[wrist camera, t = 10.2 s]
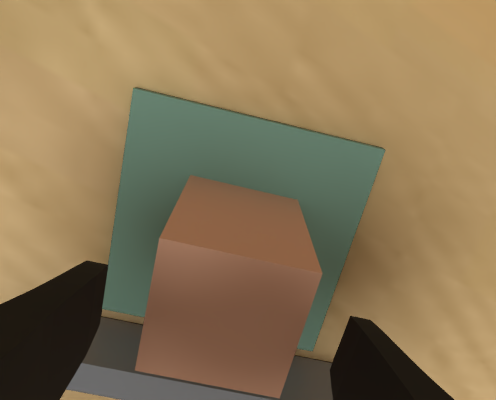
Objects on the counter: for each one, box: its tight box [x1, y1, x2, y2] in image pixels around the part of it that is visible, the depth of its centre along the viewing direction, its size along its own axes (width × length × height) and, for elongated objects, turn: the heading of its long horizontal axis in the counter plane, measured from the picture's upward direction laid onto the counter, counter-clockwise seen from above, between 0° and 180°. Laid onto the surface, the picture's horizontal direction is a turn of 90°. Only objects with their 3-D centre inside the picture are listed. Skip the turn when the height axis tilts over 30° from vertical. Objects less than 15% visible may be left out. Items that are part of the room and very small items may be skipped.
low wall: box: [66, 317, 333, 400], centre depth 18 cm, size 2×18×3 cm, turn 76°
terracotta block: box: [135, 175, 322, 398], centre depth 14 cm, size 4×4×6 cm
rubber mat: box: [102, 88, 385, 351], centre depth 17 cm, size 10×10×1 cm
